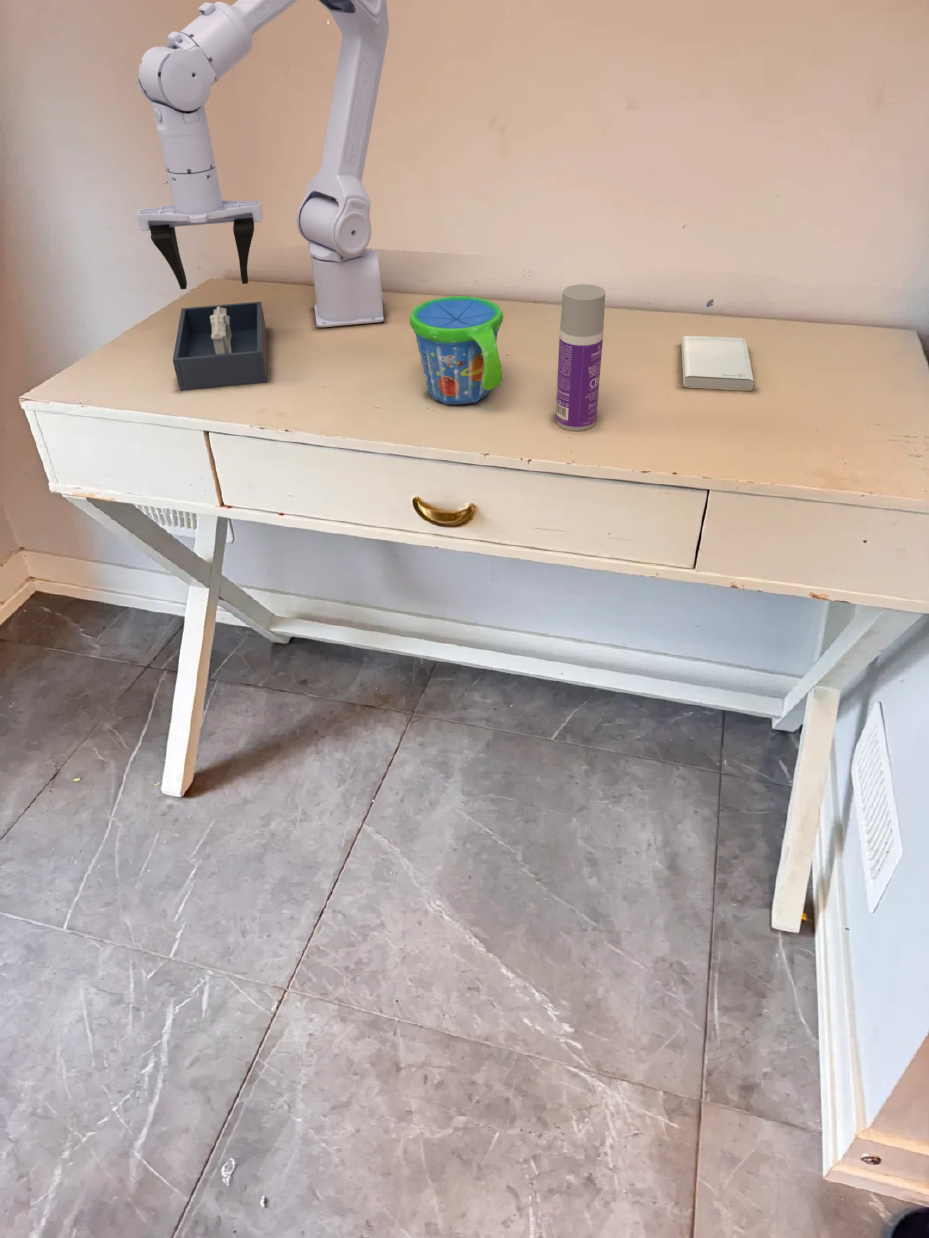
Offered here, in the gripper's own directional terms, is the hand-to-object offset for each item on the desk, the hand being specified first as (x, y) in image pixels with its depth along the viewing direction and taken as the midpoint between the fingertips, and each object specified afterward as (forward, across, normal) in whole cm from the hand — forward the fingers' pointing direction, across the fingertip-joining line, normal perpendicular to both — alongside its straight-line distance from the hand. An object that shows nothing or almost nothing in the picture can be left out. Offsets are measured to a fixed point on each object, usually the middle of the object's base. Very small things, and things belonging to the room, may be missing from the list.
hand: (214, 284), depth 114 cm
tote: (+9, 0, -2) cm, 9 cm away
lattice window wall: (+9, 0, -2) cm, 9 cm away
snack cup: (+10, +28, -19) cm, 35 cm away
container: (+10, +40, -29) cm, 50 cm away
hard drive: (+10, +61, -19) cm, 65 cm away
